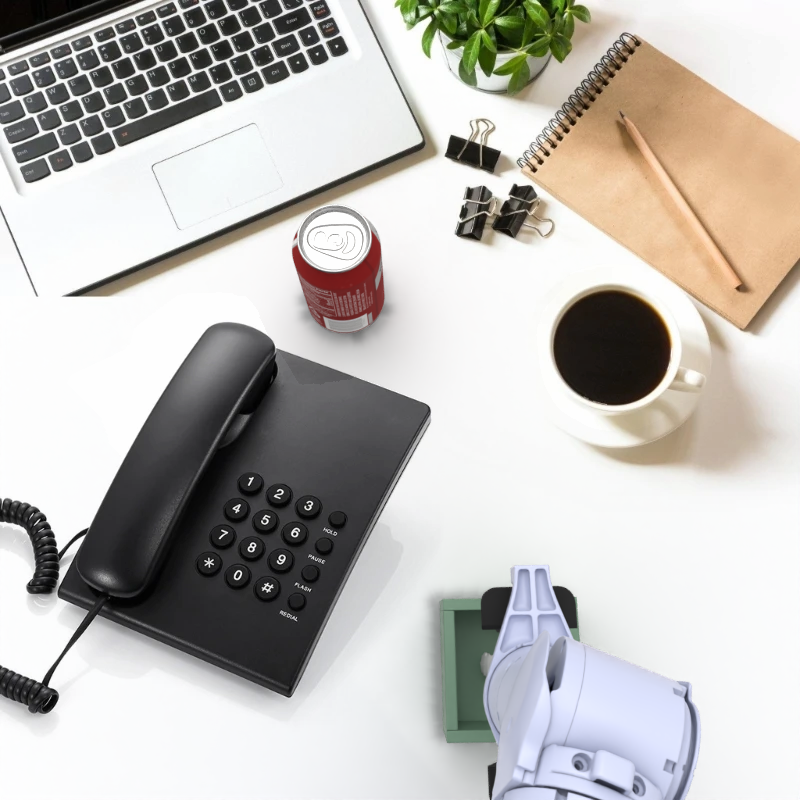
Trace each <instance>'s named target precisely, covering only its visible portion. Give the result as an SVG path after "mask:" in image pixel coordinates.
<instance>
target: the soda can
mask: <svg viewBox="0 0 800 800" xmlns="http://www.w3.org/2000/svg"><path fill="white" fill-rule="evenodd" d="M382 252H383V251H382V243H381V238H380V235H379V233H378V230H377V229H376V227H375V226H374V225H373V223H372V222H371V221H370V220H369V219H368V218H367V217H366V216H364V215H363V214H362V213H361V212H360V211H358V210H356V208H353V207H352V206H348V205H345V204H339V203H332V204H331V203H330V204H326V205H322V206H319V207H317V208H315V209H313V210H312V211H310V213H308V214H307V215H306V216H305V217H304V218H303V220H302V221H301V223H300V225H299V227H298V229H297V230H296V232H295V235H294V236H293V240H292V244H291V257H292V261H293V264H294V267H295V270H296V274H297V278H298V280H299V283H300V286H301V289H302V291H303V292H302V293H303V296H304V300H305V302H306V304H307V309H308V311H309V313H310V315H311V317H312V318H313V320H314V321H315V322H316V323H317V324H318V325H319V326H320V327H321V328H323V329H325V330H327V331H329V332H332V333H335V334H340V335H341V334H342V335H347V334H348V335H349V334H356V333H359V332H361V331H363V330H365V329H367V328H368V327H370V326H371V325H372V324H374V323H375V321H376V320H377V319H378V318H379V317H380V315H381V313H382V311H383V308H384V304H385V298H386V297H385V296H386V295H385V283H384V281H385V280H384V269H383V267H384V266H383V254H382Z"/></svg>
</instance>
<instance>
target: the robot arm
mask: <svg viewBox="0 0 800 800" xmlns="http://www.w3.org/2000/svg"><path fill="white" fill-rule="evenodd" d="M509 570H510V583H511V585H512V586H494V587H491V588H489V589H487V590H486V591H484V592H483V594H482V596H481V597H480V598H481V624H482V630H496V632H500V633H499V637H498V640H497V643H496V647H495V650H494V653H493V657H492V660H491V663H490V667H489V670H488V673H487V677H486V680H485V684H484V691H483V703H484V709H485V713H486V716H487V720H488V722H489V725H490V727H491V730H492V733H493V735H494V738H495V740H496V742H495V743H496V746H497V756H496V761H494V762H492V763H491V764H489V765H487V785H488V786H487V787H488V788H487V789H488V798H489V799H488V800H686V798H687V796H688V794H689V792H690V788H691V785H692V782H693V781H694V777H695V775H694V773H695V770H696V769H697V765H698V761H699V755H700V748H701V742H702V741H701V740H702V739H701V738H702V724H701V723H702V722H701V715H700V712H699V709H698V707H697V705H696V703H694V701H693V698H692V697H693V695H692V694H693V685H692V683H691V682H690V681H686V680H685V681H683V680H676V679H673V678H670V677H667V676H665V675H662V674H660V673H658V672H655V671H652V670H650V669H648V668H645V667H643V666H640V665H637V664H635V663H633V662H630V661H628V660H626V659H623V658H621V657H618V656H615V655H613V654H610V653H608V652H607V651H603V650H601V649H598V648H596V647H594V646H592V645H591V646H590V645H588V644H586V643H583V642H581V641H580V642H578V641H576V640H574V639H573V637H572V634H571V632H570V628H578V627H577V613H576V602H575V598H574V597H575V596H574V594H573V592H572V591H571V590H570V589H568V588H567V587H565V586H563V585H553V584H552V578H551V571H550V570H551V569H550V565H549V564H520V565H519V564H515V565H514V566H512V567H510V569H509Z"/></svg>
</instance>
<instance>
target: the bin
mask: <svg viewBox="0 0 800 800" xmlns="http://www.w3.org/2000/svg"><path fill="white" fill-rule="evenodd" d="M481 598H482V597H480V598H479V597H477V598H475V597H474V598H442V599H441V600H439V628H440V629H439V633H440V637H439V638H440V668H441V669H440V671H441V673H440V675H441V702H442V703H441V708H442V709H441V711H442V712H441V713H442V732H443V735H444V739H445V741H446V743H447V744H469V743H470V744H473V743H475V744H476V743H477V744H479V743H482V744H483V743H496V740H495V738H494V735H493V733H492V730H491V727H490V725H489V722H488V720H487V716H486V713H485V709H484V703H483V691H484V684H485V680H486V677H487V676H484V675H483V673H482V672H481V665H480V662H481V657H482V655H483V654H484V652H487V653H489V654H490V655H493V653H494V650H495V647H496V643H497V640H498V637H499V633H500V632H496V630H482V624H481ZM574 598H575V602H576V613H577V627H578V628H570V632H571V634H572V637H573V639H574V640H576V641H578V642H581V637H580V624H579V611H578V598H577V596H574Z"/></svg>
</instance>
